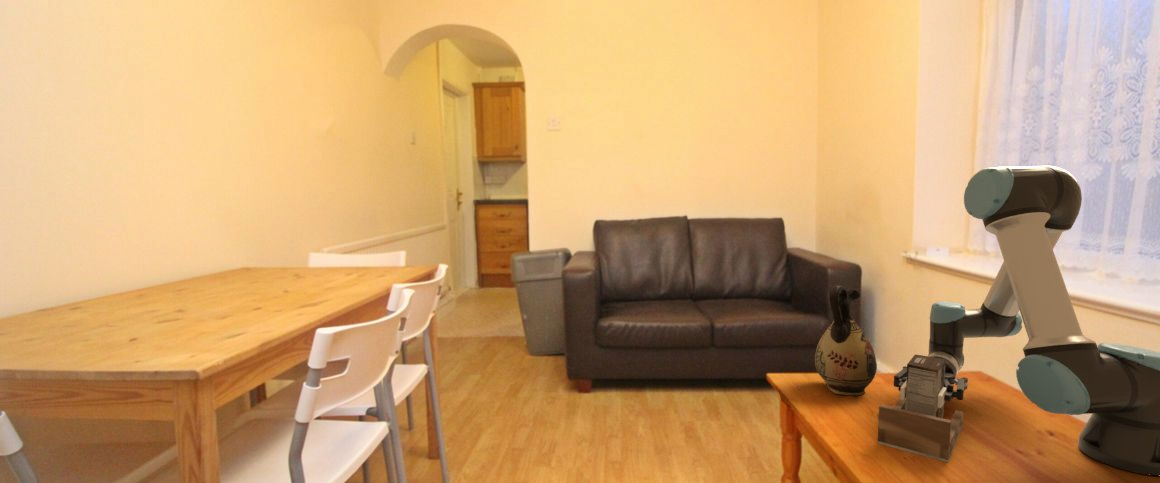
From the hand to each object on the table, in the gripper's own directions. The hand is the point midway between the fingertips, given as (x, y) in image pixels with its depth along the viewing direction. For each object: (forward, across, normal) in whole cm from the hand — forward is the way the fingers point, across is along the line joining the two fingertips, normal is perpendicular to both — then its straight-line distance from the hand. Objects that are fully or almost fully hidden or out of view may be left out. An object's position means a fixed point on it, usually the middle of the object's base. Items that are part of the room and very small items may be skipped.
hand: (920, 397), depth 118 cm
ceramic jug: (-19, +22, -10) cm, 31 cm away
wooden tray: (-3, 0, -10) cm, 10 cm away
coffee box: (-5, 0, -9) cm, 11 cm away
